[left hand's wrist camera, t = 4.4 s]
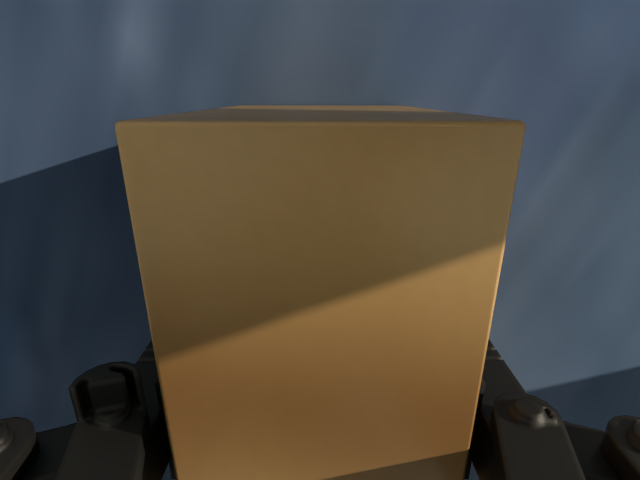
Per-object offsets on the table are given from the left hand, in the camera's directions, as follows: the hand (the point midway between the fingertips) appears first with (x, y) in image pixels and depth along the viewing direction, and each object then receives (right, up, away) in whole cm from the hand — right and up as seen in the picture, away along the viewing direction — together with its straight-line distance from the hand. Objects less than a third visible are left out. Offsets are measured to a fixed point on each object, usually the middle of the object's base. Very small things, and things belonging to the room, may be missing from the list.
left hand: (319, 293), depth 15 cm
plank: (0, -24, +9) cm, 26 cm away
